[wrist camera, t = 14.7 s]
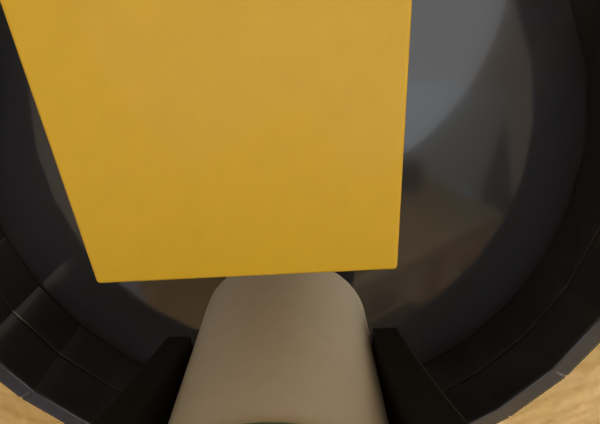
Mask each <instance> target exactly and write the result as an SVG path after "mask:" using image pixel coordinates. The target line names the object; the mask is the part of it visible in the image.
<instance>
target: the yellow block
mask: <svg viewBox="0 0 600 424" xmlns="http://www.w3.org/2000/svg"><path fill="white" fill-rule="evenodd" d="M0 2H1V5H2V8H3V11H4V14H5V17H6V20H7V22H8V25H9V28H10V31H11V34H12V37H13V40H14V43H15V46H16V48H17V51H18V54H19V57H20V60H21V63H22V66H23V69H24V72H25V74H26V77H27V80H28V83H29V86H30V89H31V92H32V95H33V98H34V101H35V103H36V106H37V109H38V112H39V115H40V118H41V121H42V124H43V127H44V129H45V132H46V135H47V138H48V141H49V144H50V147H51V150H52V153H53V155H54V158H55V161H56V164H57V167H58V170H59V173H60V176H61V179H62V181H63V184H64V187H65V190H66V193H67V196H68V199H69V202H70V205H71V207H72V210H73V213H74V216H75V219H76V222H77V225H78V228H79V231H80V233H81V236H82V239H83V242H84V245H85V248H86V251H87V254H88V257H89V259H90V262H91V265H92V268H93V271H94V274H95V277H96V280H97V282H99V283H110V282H130V281H151V280H172V279H193V278H214V277H235V276H256V275H276V274H297V273H318V272H339V271H360V270H381V269H395V268H396V267H397V260H398V242H399V225H400V207H401V189H402V171H403V153H404V135H405V117H406V100H407V82H408V64H409V46H410V28H411V10H412V0H0Z"/></svg>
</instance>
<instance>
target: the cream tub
mask: <svg viewBox="0 0 600 424" xmlns="http://www.w3.org/2000/svg"><path fill="white" fill-rule="evenodd" d="M168 424H389V423H388V418H387V413H386V409H385V404H384V399H383V395H382V390H381V386H380V381H379V377H378V372H377V367H376V363H375V358H374V353H373V349H372V344H371V339H370V335H369V330H368V325H367V321H366V316H365V312H364V308H363V305H362V302H361V300H360V298H359V296H358V295H357V293H356V291H355V290H354V289H353V288H352V286H351V285H350V284H349V283H348V282H347V281H346V280H345V279H343V278H342V277H341V276H340V275H338V274H337V273H335V272H318V273H297V274H276V275H256V276H235V277H227V278H226V279H225V280H224V281H222V282H221V284H220V285H219V286H218V287H217V288H216V290H215V291H214V293H213V295H212V296H211V298H210V301H209V303H208V306H207V309H206V312H205V315H204V318H203V321H202V324H201V327H200V330H199V333H198V336H197V339H196V342H195V345H194V348H193V351H192V354H191V357H190V360H189V362H188V365H187V368H186V371H185V374H184V377H183V380H182V383H181V386H180V389H179V392H178V395H177V398H176V401H175V404H174V407H173V410H172V413H171V416H170V419H169V422H168Z"/></svg>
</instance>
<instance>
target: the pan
mask: <svg viewBox="0 0 600 424" xmlns="http://www.w3.org/2000/svg"><path fill="white" fill-rule="evenodd" d="M335 273H337V274H338V275H340V276H341V277H342V278H343V279H345V280H346V281H347V282H348V283H349V284H350V285H351V286H352V288H353V289H354V290H355V291H356V293H357V295H358V296H359V298H360V300H361V302H362V305H363V308H364V312H365V316H366V321H367V325H368V330H369V335H370V339H371V344H372V328H391V327H396V328H397V329H398V330H399V331H400V332H401V334H402V335H403V337H404V339H405V340H406V342H407V343H408V345H409V346H410V348H411V349H412V351H413V352H414V354H415V355H416V357H417V358H418V359H419V361H420V362H421V364H422V365H423V367H424V368H425V369H426V371H427V372H428V373H429V375H430V376H431V377H432V379H433V380H434V381H435V383H436V384H437V385H438V386H439V388H440V389H441V390H442V392H443V393H444V394H445V395H446V397H447V398H448V399H449V400H450V402H451V403H452V404H453V405H454V407H455V408H456V409H457V410H458V411H459V413H460V414H461V415H462V416H463V417H464V418H465V420H466V421H467V422H468V423H469V424H497V423H499V422H501V421H503V420H505V419H507V418H508V417H509V416H512V415H514V414H515V413H516V412H518V411H519V410H520V409H522V408H523V407H525V406H526V405H527V404H529V403H530V402H532V401H533V400H534V399H536V398H537V397H539V396H540V395H541V394H543V393H544V392H546V391H547V390H548V389H550V388H551V387H553V386H554V385H555V384H557V383H558V382H560V381H561V380H562V379H564V378H565V375H569V374H570V373H571V372H572V370H573V369H574V368H575V367H576V366H577V365H578V364H579V363H580V362H581V361H582V360H583V359H584V358H585V357H586V356H587V355H588V354H589V353H590V352H591V351H592V350H593V349H594V348H595V347H596V346H597V345H598V344H599V343H600V0H412V10H411V28H410V46H409V64H408V82H407V100H406V117H405V135H404V153H403V171H402V189H401V207H400V225H399V242H398V260H397V267H396V268H395V269H381V270H360V271H339V272H335ZM226 278H227V277H214V278H193V279H172V280H151V281H130V282H110V283H99V282H97V280H96V277H95V274H94V271H93V268H92V265H91V262H90V259H89V257H88V254H87V251H86V248H85V245H84V242H83V239H82V236H81V233H80V231H79V228H78V225H77V222H76V219H75V216H74V213H73V210H72V207H71V205H70V202H69V199H68V196H67V193H66V190H65V187H64V184H63V181H62V179H61V176H60V173H59V170H58V167H57V164H56V161H55V158H54V155H53V153H52V150H51V147H50V144H49V141H48V138H47V135H46V132H45V129H44V127H43V124H42V121H41V118H40V115H39V112H38V109H37V106H36V103H35V101H34V98H33V95H32V92H31V89H30V86H29V83H28V80H27V77H26V74H25V72H24V69H23V66H22V63H21V60H20V57H19V54H18V51H17V48H16V46H15V43H14V40H13V37H12V34H11V31H10V28H9V25H8V22H7V20H6V17H5V14H4V11H3V8H2V5H1V2H0V382H1V383H3V384H4V385H5V386H6V387H8V388H9V389H10V390H11V391H12V392H14V393H15V394H16V395H17V396H19V397H22V399H23V400H25V401H27V402H29V403H30V404H32V405H34V406H36V407H37V408H39V409H41V410H42V411H44V412H46V413H48V414H49V415H51V416H53V417H55V418H56V419H58V420H60V421H61V422H63V423H65V424H91V423H92V422H93V421H94V420H95V419H96V418H97V416H98V415H99V414H100V413H101V412H102V411H103V410H104V409H105V408H106V407H107V406H108V405H109V404H110V403H111V401H112V400H113V399H114V398H115V397H116V396H117V395H118V394H119V392H120V391H121V390H122V389H123V388H124V387H125V386H126V385H127V384H128V382H129V381H130V380H131V379H132V378H133V377H134V376H135V374H136V373H137V372H138V371H139V370H140V369H141V367H142V366H143V365H144V364H145V363H146V362H147V360H148V359H149V358H150V357H151V356H152V355H153V353H154V352H155V351H156V350H157V349H158V348H159V346H160V345H161V344H162V343H163V342H164V341H165V340H166V339H167V338H168V337H181V336H190V337H191V341H192V346H193V348H194V345H195V342H196V339H197V336H198V333H199V330H200V327H201V324H202V321H203V318H204V315H205V312H206V309H207V306H208V303H209V301H210V298H211V296H212V295H213V293H214V291H215V290H216V288H217V287H218V286H219V285H220V284H221V282H222V281H224V280H225V279H226Z"/></svg>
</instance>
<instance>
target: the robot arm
mask: <svg viewBox="0 0 600 424" xmlns="http://www.w3.org/2000/svg"><path fill="white" fill-rule="evenodd" d="M372 349H373V353H374V358H375V363H376V367H377V372H378V377H379V381H380V386H381V390H382V395H383V399H384V404H385V409H386V413H387V418H388V423H389V424H469V423H468V422H467V421H466V420H465V418H464V417H463V416H462V415H461V414H460V413H459V411H458V410H457V409H456V408H455V407H454V405H453V404H452V403H451V402H450V400H449V399H448V398H447V397H446V395H445V394H444V393H443V392H442V390H441V389H440V388H439V386H438V385H437V384H436V383H435V381H434V380H433V379H432V377H431V376H430V375H429V373H428V372H427V371H426V369H425V368H424V367H423V365H422V364H421V362H420V361H419V359H418V358H417V357H416V355H415V354H414V352H413V351H412V349H411V348H410V346H409V345H408V343H407V342H406V340H405V339H404V337H403V335H402V334H401V332H400V331H399V330H398V329H397V328H396V327H391V328H372ZM192 351H193V346H192V341H191V337H190V336H181V337H168V338H167V339H166V340H165V341H164V342H163V343H162V344H161V345H160V346H159V348H158V349H157V350H156V351H155V352H154V353H153V355H152V356H151V357H150V358H149V359H148V360H147V362H146V363H145V364H144V365H143V366H142V367H141V369H140V370H139V371H138V372H137V373H136V374H135V376H134V377H133V378H132V379H131V380H130V381H129V382H128V384H127V385H126V386H125V387H124V388H123V389H122V390H121V391H120V392H119V394H118V395H117V396H116V397H115V398H114V399H113V400H112V401H111V403H110V404H109V405H108V406H107V407H106V408H105V409H104V410H103V411H102V412H101V413H100V414H99V415H98V416H97V418H96V419H95V420H94V421H93V422H92V423H91V424H168V422H169V419H170V416H171V413H172V410H173V407H174V404H175V401H176V398H177V395H178V392H179V389H180V386H181V383H182V380H183V377H184V374H185V371H186V368H187V365H188V362H189V360H190V357H191V354H192Z"/></svg>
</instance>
